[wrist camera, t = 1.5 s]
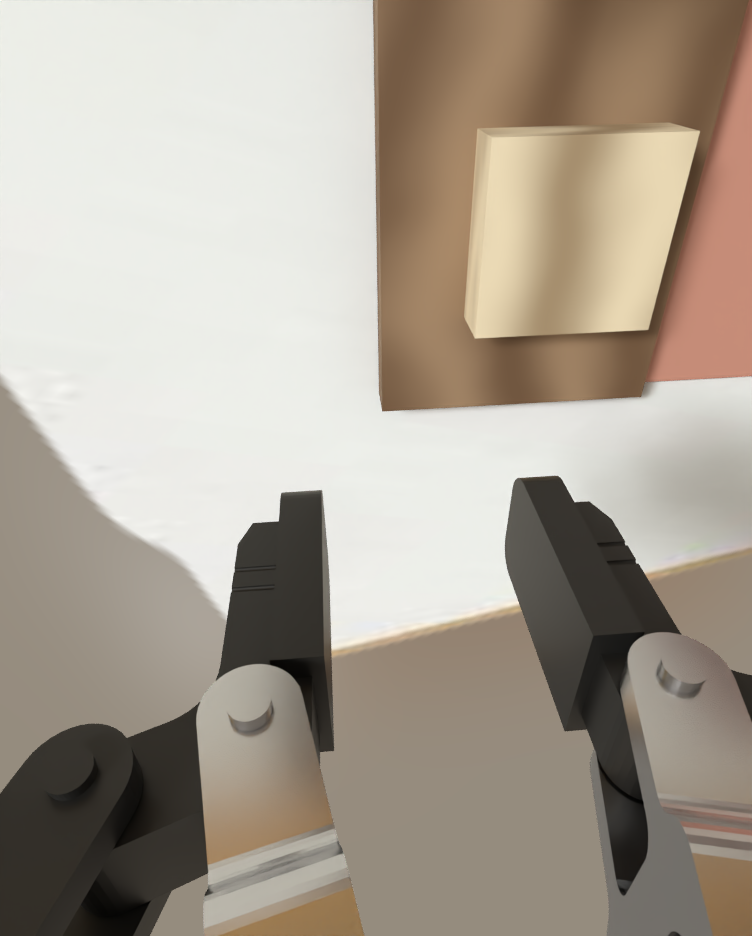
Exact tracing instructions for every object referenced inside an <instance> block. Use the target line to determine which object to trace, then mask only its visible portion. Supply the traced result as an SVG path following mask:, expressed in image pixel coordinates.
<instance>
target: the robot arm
mask: <svg viewBox="0 0 752 936" xmlns="http://www.w3.org/2000/svg"><path fill="white" fill-rule="evenodd" d="M505 557H506V564H507V569H508V573H509V576H510V579H511V581H512V584H513V587H514V590H515V593H516V596H517V598H518V601H519V604H520V607H521V610H522V612H523V615H524V618H525V621H526V624H527V626H528V629H529V632H530V635H531V638H532V641H533V643H534V646H535V649H536V652H537V655H538V657H539V660H540V663H541V666H542V669H543V671H544V674H545V677H546V680H547V682H548V685H549V688H550V691H551V694H552V697H553V700H554V702H555V705H556V708H557V711H558V713H559V716H560V719H561V722H562V725H563V728H564V730H565V731H573V730H585V729H587V731H588V733H589V736H590V738H591V741H592V743H593V746H594V750H593V753H592V756H591V759H590V773H591V779H592V787H593V794H594V801H595V808H596V815H597V821H598V829H599V836H600V843H601V849H602V856H603V863H604V870H605V877H606V884H607V891H608V901H609V902H608V903H609V919H608V926H607V936H752V675H747V674H743V673H739V672H736V671H733V670H730V668H729V667H728V665H727V664H726V663H725V662H724V661H723V660H722V659H721V657H720V656H718V655H717V654H716V653H715V652H714V651H713V650H711V649H710V648H708V647H707V646H705V645H704V644H702V643H700V642H698V641H696V640H694V639H691V638H689V637H687V636H683V635H681V633H680V632H679V630H678V629H677V627H676V625H675V624H674V622H673V620H672V619H671V617H670V615H669V614H668V612H667V610H666V609H665V607H664V605H663V604H662V602H661V601H660V599H659V597H658V595H657V594H656V592H655V590H654V589H653V587H652V585H651V584H650V582H649V580H648V579H647V577H646V575H645V574H644V572H643V570H642V569H641V567H640V565H639V564H636V561H635V560H636V559H635V557H634V556H633V554H632V552H631V551H630V549H629V547H628V546H625V541H624V539H623V537H622V536H621V534H620V532H619V531H618V529H617V527H616V526H615V524H614V522H613V521H612V519H610V518H609V517H608V516H607V515H605V514H604V513H603V512H602V511H600V510H599V509H598V508H597V507H595V506H594V505H593V504H592V503H590V502H574V501H573V499H572V497H571V495H570V494H569V492H568V490H567V488H566V486H565V484H564V483H563V481H562V479H561V478H560V477H559V476H545V477H529V478H517V479H516V480H515V482H514V485H513V490H512V497H511V504H510V511H509V518H508V524H507V531H506V538H505ZM333 732H334V731H333V695H332V658H331V622H330V586H329V565H328V551H327V539H326V528H325V516H324V505H323V494H322V490H317V491H301V492H285V493H281V500H280V515H279V522H264V523H253V524H252V525H251V527H250V528H249V530H248V531H247V533H246V534H245V535H244V537H243V538H242V540H241V541H240V542H239V544H238V549H237V555H236V562H235V573H234V576H233V583H232V592H231V596H230V603H229V610H228V617H227V624H226V631H225V638H224V645H223V651H222V658H221V665H220V669H219V674H218V676H217V679H216V681H215V682H214V683H213V684H212V685H211V686H210V688H209V689H208V690H207V691H206V693H205V694H204V696H203V698H202V699H201V701H200V702H199V703H198V705H196V706H195V707H194V708H192V709H191V710H190V711H189V712H187V713H185V714H183V715H182V716H180V717H178V718H176V719H174V720H172V721H170V722H167V723H165V724H162V725H160V726H157V727H154V728H152V729H149V730H147V731H144V732H141V733H139V734H136V735H134V736H131V737H129V738H126V737H125V736H124V735H123V733H121V732H120V731H118V730H117V729H115V728H113V727H111V726H108V725H103V724H85V725H80V726H76V727H73V728H70V729H68V730H65V731H63V732H61V733H59V734H57V735H55V736H54V737H52V738H50V739H49V740H47V741H46V742H45V743H43V744H42V745H41V746H40V747H38V748H37V749H36V750H35V751H34V752H33V753H32V754H31V755H30V756H29V758H28V759H27V760H26V761H25V762H24V764H23V765H22V766H21V768H20V769H19V770H18V771H17V773H16V774H15V775H14V776H13V778H12V779H11V780H10V782H9V783H8V784H7V786H6V787H5V788H4V789H3V791H2V792H1V794H0V936H150V934H151V932H152V930H153V928H154V926H155V923H156V922H157V920H158V918H159V915H160V913H161V911H162V909H163V907H164V905H165V903H166V901H167V899H168V897H169V895H170V893H171V891H172V890H174V889H176V888H178V887H180V886H182V885H184V884H186V883H189V882H191V881H193V880H195V879H197V878H199V877H201V876H203V875H205V874H207V873H208V890H207V892H206V893H205V897H204V908H203V913H204V914H203V919H204V936H364V932H363V927H362V924H361V919H360V915H359V911H358V907H357V903H356V899H355V895H354V891H353V887H352V883H351V879H350V875H349V871H348V868H347V864H346V860H345V857H344V854H343V851H342V848H341V846H340V844H339V841H338V838H337V835H336V831H335V827H334V823H333V819H332V815H331V811H330V806H329V802H328V798H327V794H326V790H325V786H324V782H323V778H322V774H321V769H320V752H324V751H334V733H333Z"/></svg>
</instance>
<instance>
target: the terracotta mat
mask: <svg viewBox="0 0 752 936" xmlns="http://www.w3.org/2000/svg"><path fill="white" fill-rule="evenodd" d="M742 376H752V0H749V2H748V5H747V9H746V13H745V16H744V20H743V24H742V28H741V31H740V35H739V39H738V42H737V46H736V50H735V53H734V57H733V61H732V64H731V68H730V72H729V75H728V79H727V83H726V86H725V90H724V94H723V97H722V101H721V105H720V108H719V112H718V116H717V119H716V123H715V127H714V130H713V134H712V138H711V141H710V145H709V149H708V152H707V156H706V160H705V163H704V167H703V171H702V174H701V178H700V182H699V185H698V189H697V193H696V196H695V200H694V204H693V207H692V211H691V215H690V218H689V222H688V226H687V229H686V233H685V237H684V240H683V244H682V248H681V251H680V255H679V259H678V262H677V266H676V270H675V273H674V277H673V281H672V284H671V288H670V292H669V295H668V299H667V303H666V306H665V310H664V314H663V317H662V321H661V325H660V329H659V332H658V336H657V340H656V343H655V347H654V351H653V354H652V358H651V362H650V365H649V369H648V373H647V376H646V380H645V382H651V381H670V380H688V379H706V378H724V377H742Z"/></svg>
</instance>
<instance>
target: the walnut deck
mask: <svg viewBox="0 0 752 936" xmlns="http://www.w3.org/2000/svg"><path fill="white" fill-rule="evenodd" d="M748 2H749V0H373V25H374V91H375V156H376V222H377V287H378V353H379V395H380V401H381V406H382V411H397V410H415V409H433V408H450V407H468V406H486V405H504V404H521V403H539V402H557V401H575V400H592V399H610V398H628V397H641V395H642V391H643V387H644V384H645V380H646V376H647V373H648V369H649V365H650V362H651V358H652V354H653V351H654V347H655V343H656V340H657V336H658V332H659V329H660V325H661V321H662V317H663V314H664V310H665V306H666V303H667V299H668V295H669V292H670V288H671V284H672V281H673V277H674V273H675V270H676V266H677V262H678V259H679V255H680V251H681V248H682V244H683V240H684V237H685V233H686V229H687V226H688V222H689V218H690V215H691V211H692V207H693V204H694V200H695V196H696V193H697V189H698V185H699V182H700V178H701V174H702V171H703V167H704V163H705V160H706V156H707V152H708V149H709V145H710V141H711V138H712V134H713V130H714V127H715V123H716V119H717V116H718V112H719V108H720V105H721V101H722V97H723V94H724V90H725V86H726V83H727V79H728V75H729V72H730V68H731V64H732V61H733V57H734V53H735V50H736V46H737V42H738V39H739V35H740V31H741V28H742V24H743V20H744V16H745V13H746V9H747V5H748ZM641 123H672V124H676V125H680V126H683V127H687V128H691V129H694V130H698V131H700V133H699V137H698V141H697V145H696V149H695V153H694V156H693V160H692V164H691V168H690V172H689V176H688V179H687V183H686V187H685V191H684V195H683V199H682V202H681V206H680V210H679V214H678V218H677V221H676V225H675V229H674V233H673V237H672V241H671V244H670V248H669V252H668V256H667V260H666V264H665V267H664V271H663V275H662V279H661V283H660V287H659V290H658V294H657V298H656V302H655V306H654V310H653V313H652V317H651V321H650V325H649V329H648V330H636V331H616V332H596V333H576V334H556V335H536V336H516V337H496V338H476V339H475V338H474V336H473V334H472V332H471V330H470V328H469V326H468V324H467V322H466V320H465V318H464V310H465V296H466V282H467V268H468V254H469V240H470V226H471V212H472V198H473V184H474V170H475V156H476V142H477V129H478V128H509V127H542V126H575V125H608V124H641Z"/></svg>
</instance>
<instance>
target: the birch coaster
mask: <svg viewBox="0 0 752 936" xmlns="http://www.w3.org/2000/svg"><path fill="white" fill-rule="evenodd" d="M699 133H700V131H698V130H694V129H691V128H687V127H683V126H680V125H676V124H672V123H641V124H608V125H575V126H542V127H509V128H478V129H477V142H476V156H475V170H474V184H473V198H472V212H471V226H470V240H469V254H468V268H467V282H466V296H465V310H464V318H465V320H466V322H467V324H468V326H469V328H470V330H471V332H472V334H473V336H474V338H475V339H476V338H496V337H516V336H536V335H556V334H576V333H596V332H616V331H636V330H648V329H649V325H650V321H651V317H652V313H653V310H654V306H655V302H656V298H657V294H658V290H659V287H660V283H661V279H662V275H663V271H664V267H665V264H666V260H667V256H668V252H669V248H670V244H671V241H672V237H673V233H674V229H675V225H676V221H677V218H678V214H679V210H680V206H681V202H682V199H683V195H684V191H685V187H686V183H687V179H688V176H689V172H690V168H691V164H692V160H693V156H694V153H695V149H696V145H697V141H698V137H699Z"/></svg>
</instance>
